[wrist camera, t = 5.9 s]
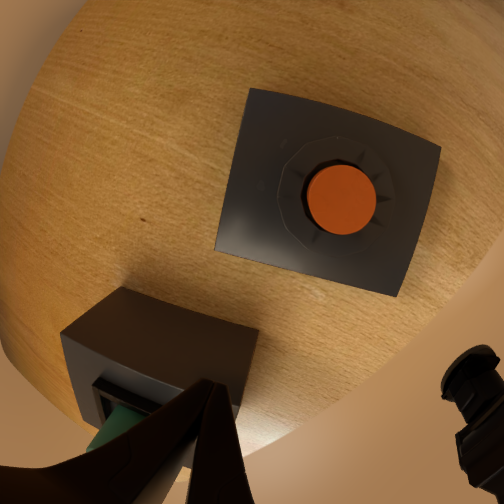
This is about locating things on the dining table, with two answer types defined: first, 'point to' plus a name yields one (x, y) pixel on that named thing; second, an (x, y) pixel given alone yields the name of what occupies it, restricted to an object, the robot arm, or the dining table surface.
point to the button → (341, 199)
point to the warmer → (151, 355)
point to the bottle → (115, 426)
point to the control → (298, 179)
